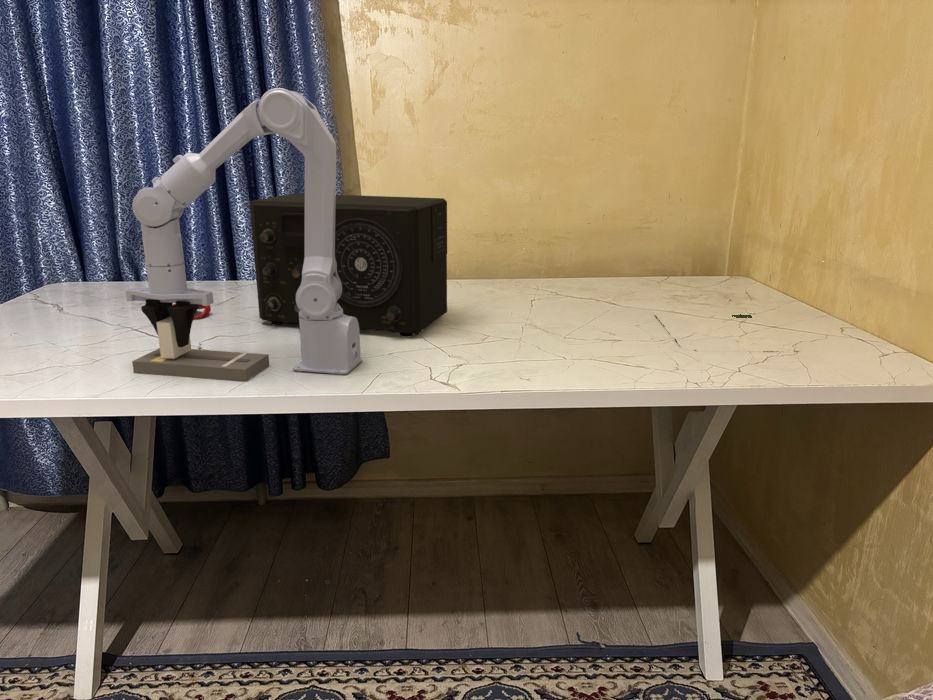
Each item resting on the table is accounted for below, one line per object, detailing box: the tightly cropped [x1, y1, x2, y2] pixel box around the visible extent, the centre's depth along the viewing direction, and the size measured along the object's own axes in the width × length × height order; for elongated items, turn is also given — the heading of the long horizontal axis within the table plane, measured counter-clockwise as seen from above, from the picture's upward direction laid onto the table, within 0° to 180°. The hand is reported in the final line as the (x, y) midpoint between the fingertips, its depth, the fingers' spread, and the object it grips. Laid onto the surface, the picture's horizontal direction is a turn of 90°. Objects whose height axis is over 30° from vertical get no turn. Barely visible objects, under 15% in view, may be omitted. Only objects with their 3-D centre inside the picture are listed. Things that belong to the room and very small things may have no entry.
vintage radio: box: [249, 192, 448, 337], centre depth 143 cm, size 38×20×25 cm, turn 73°
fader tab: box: [156, 316, 192, 359], centre depth 117 cm, size 2×5×6 cm, turn 168°
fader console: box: [131, 347, 270, 382], centre depth 118 cm, size 20×8×2 cm, turn 78°
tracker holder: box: [172, 303, 212, 320], centre depth 149 cm, size 12×4×10 cm
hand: (175, 344), depth 118 cm, fingers closed on fader tab, 2 cm apart
